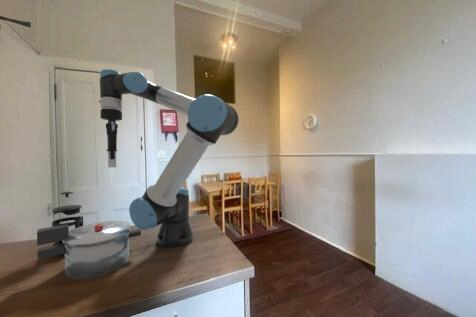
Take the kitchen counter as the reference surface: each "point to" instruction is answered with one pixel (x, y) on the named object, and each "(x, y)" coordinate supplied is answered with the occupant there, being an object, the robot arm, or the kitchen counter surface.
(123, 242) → the pressure cooker pot
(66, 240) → the lid
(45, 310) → the kitchen counter surface
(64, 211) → the french press
